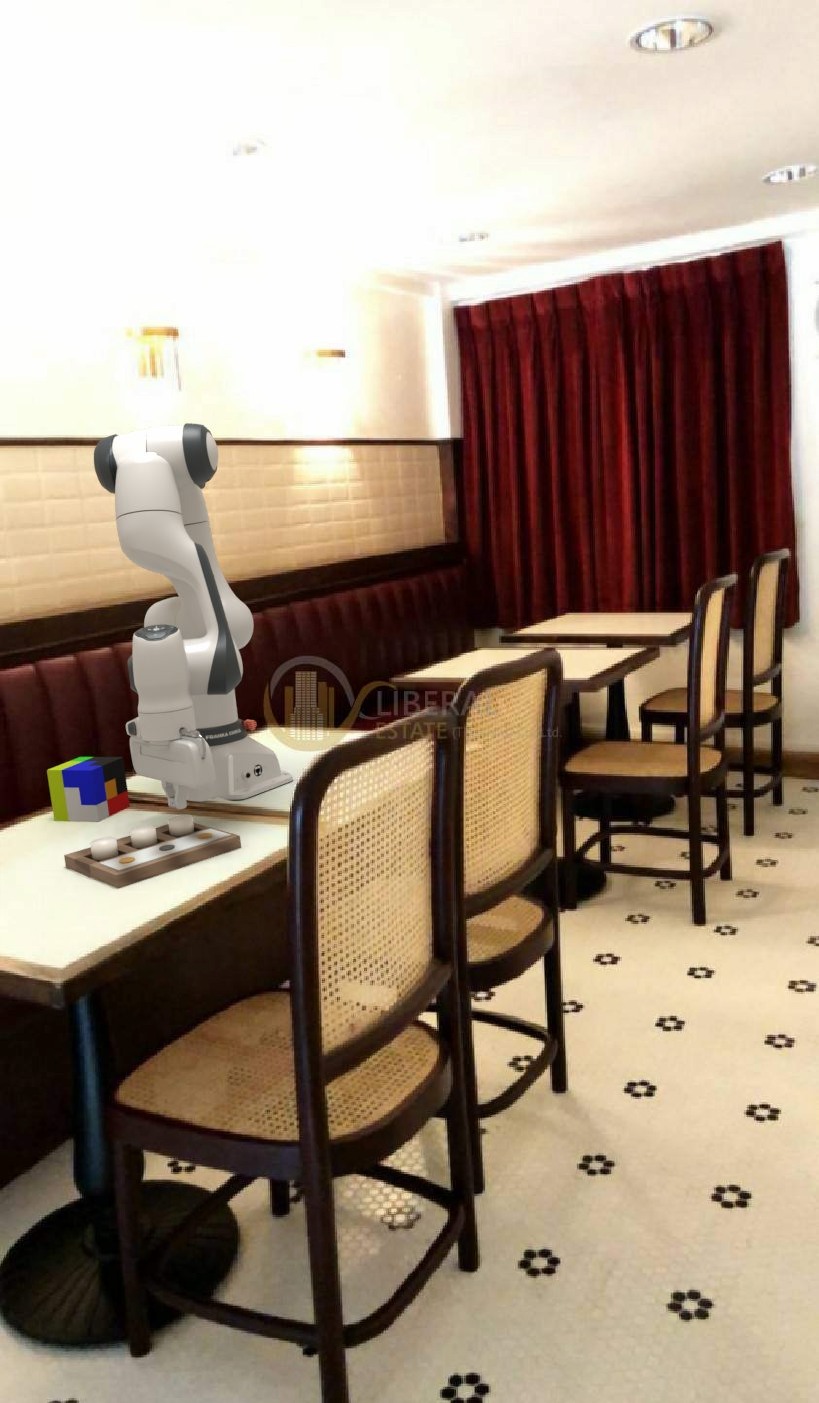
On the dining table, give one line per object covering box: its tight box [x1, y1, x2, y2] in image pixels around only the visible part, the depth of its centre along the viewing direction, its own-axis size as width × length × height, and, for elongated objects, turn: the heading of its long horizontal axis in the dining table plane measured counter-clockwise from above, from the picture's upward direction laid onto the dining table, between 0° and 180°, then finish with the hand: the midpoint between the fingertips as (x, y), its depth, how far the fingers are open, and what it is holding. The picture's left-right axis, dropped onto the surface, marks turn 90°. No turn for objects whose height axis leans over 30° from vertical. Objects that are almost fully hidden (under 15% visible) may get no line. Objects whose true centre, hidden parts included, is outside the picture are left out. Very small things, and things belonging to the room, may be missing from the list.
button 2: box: [167, 814, 194, 836], centre depth 180 cm, size 4×4×2 cm
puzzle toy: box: [46, 756, 131, 823], centre depth 208 cm, size 10×10×10 cm
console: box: [63, 821, 242, 889], centre depth 174 cm, size 22×17×4 cm
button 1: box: [89, 836, 118, 860], centre depth 171 cm, size 4×4×2 cm
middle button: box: [129, 825, 157, 848], centre depth 176 cm, size 4×4×2 cm
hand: (177, 807), depth 180 cm, fingers closed
